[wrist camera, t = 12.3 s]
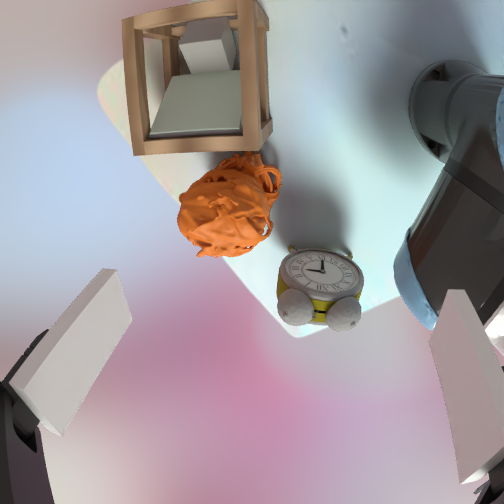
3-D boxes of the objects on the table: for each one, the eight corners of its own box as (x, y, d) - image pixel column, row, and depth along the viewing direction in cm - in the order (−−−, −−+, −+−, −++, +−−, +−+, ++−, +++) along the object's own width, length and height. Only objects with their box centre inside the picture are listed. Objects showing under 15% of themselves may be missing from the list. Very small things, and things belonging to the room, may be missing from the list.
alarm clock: (359, 247, 48) (372, 311, 35) (349, 283, 52) (357, 351, 39) (284, 237, 50) (273, 298, 37) (279, 274, 53) (267, 339, 40)
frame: (268, 18, 34) (252, -4, 23) (272, 131, 42) (258, 150, 31) (167, 30, 36) (121, 19, 25) (175, 134, 44) (133, 155, 33)
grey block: (231, 74, 36) (221, 39, 30) (193, 78, 36) (178, 44, 31) (236, 50, 37) (227, 16, 31) (200, 53, 38) (188, 21, 32)
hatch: (252, 75, 35) (251, 69, 34) (242, 136, 32) (240, 129, 31) (173, 82, 37) (171, 76, 36) (150, 141, 33) (147, 135, 32)
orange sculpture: (221, 131, 43) (170, 164, 28) (295, 158, 43) (286, 208, 28) (200, 199, 49) (149, 262, 33) (268, 225, 49) (245, 300, 34)
